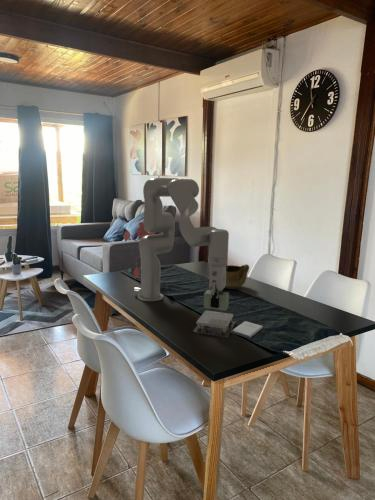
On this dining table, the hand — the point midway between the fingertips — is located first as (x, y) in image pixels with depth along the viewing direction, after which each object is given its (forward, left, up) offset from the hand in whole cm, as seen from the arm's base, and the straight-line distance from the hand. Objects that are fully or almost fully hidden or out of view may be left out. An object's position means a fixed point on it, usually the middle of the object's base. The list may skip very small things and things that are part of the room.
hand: (216, 304), depth 148 cm
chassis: (0, 0, -10) cm, 10 cm away
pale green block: (0, 0, -1) cm, 1 cm away
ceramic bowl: (-5, +57, -10) cm, 58 cm away
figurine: (-55, +55, -10) cm, 79 cm away
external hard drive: (+13, +2, -11) cm, 17 cm away
